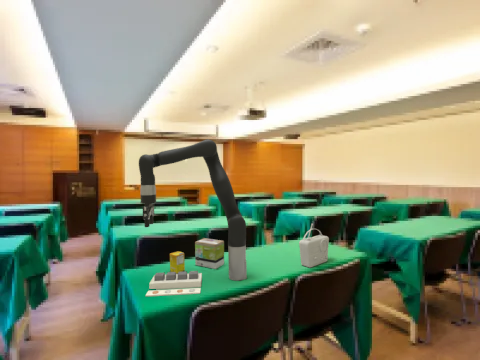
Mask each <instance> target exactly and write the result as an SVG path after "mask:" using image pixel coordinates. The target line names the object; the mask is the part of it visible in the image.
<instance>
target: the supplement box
mask: <svg viewBox="0 0 480 360" xmlns="http://www.w3.org/2000/svg"><path fill="white" fill-rule="evenodd" d="M185 265H186V264H185V253H184V252H182V251H179V250H178V251H174V252H171V253H169V272H176V274H178V272H185V271H186V270H185V268H186V266H185Z"/></svg>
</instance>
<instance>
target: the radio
mask: <svg viewBox="0 0 480 360" xmlns="http://www.w3.org/2000/svg"><path fill="white" fill-rule="evenodd" d="M313 225H314V223H311V225H310V229H309V230H308V231H306V233H305V234H304V235H303V238H302V239H300V240H299V243H298V244H299V245H298V247H299V256H300V264H301V266H304V267H307V268H310V269H311V268H314V267H316V266H319V265H321V264H323V263H326V262H328V260H329V259H328V257H329V241H330V238H329V236H327V235H323V234H322V232H321V230H320V229H317V228H315V230H317V231H318V232H319V234H318V235H314V236H312V237H311V231H312V230H313ZM307 235H308V236H307Z"/></svg>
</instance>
